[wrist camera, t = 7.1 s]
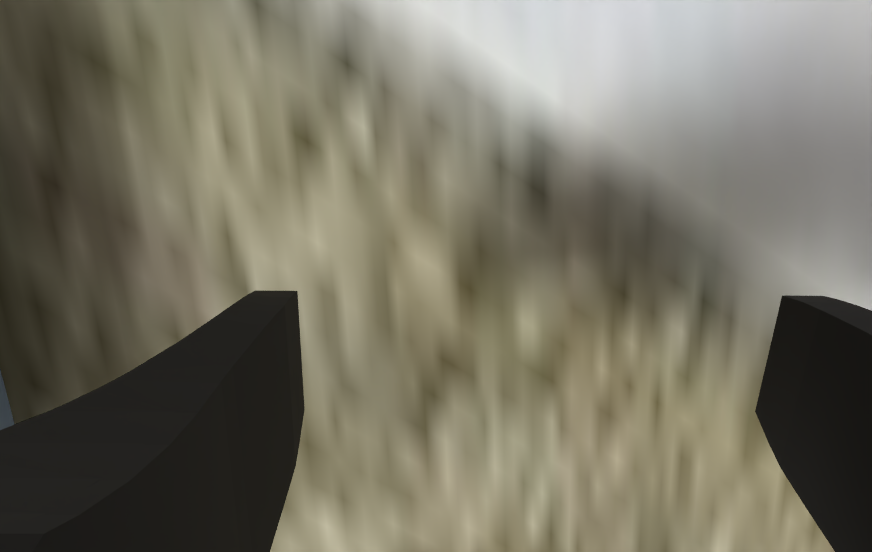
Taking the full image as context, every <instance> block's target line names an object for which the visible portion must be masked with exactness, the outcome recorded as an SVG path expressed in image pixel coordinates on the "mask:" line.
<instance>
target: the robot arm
mask: <svg viewBox="0 0 872 552" xmlns="http://www.w3.org/2000/svg"><path fill="white" fill-rule="evenodd" d="M755 412H756V414H757V417H758V419H759V421H760V424H761V426H762V428H763V431H764V433H765V435H766V438H767V440H768V442H769V444H770V447H771V449H772V451H773V453H774V455H775V457H776V459H777V461H778V463H779V465H780V467H781V469H782V470H783V472H784V474H785V475H786V477H787V479H788V480H789V482H790V483H791V485H792V486H793V488H794V490H795V491H796V493H797V494H798V496H799V497H800V499H801V500H802V502H803V504H804V505H805V507H806V508H807V510H808V511H809V513H810V514H811V516H812V517H813V519H814V520H815V522H816V523H817V525H818V526H819V528H820V530H821V531H822V533H823V534H824V536H825V537H826V539H827V540H828V542H829V543H830V545H831V546H832V548H833V549H834V551H835V552H872V311H871V310H868V309H865V308H862V307H860V306H857V305H854V304H851V303H848V302H844V301H841V300H837V299H833V298H829V297H825V296H782V299H781V303H780V307H779V312H778V316H777V320H776V325H775V329H774V333H773V337H772V342H771V346H770V350H769V355H768V359H767V363H766V367H765V372H764V376H763V380H762V385H761V389H760V393H759V398H758V402H757V406H756V410H755ZM303 415H304V395H303V378H302V362H301V345H300V328H299V312H298V295H297V291H254V292H252V293H250V294H248V295H247V296H245V297H243V298H242V299H240V300H239V301H237V302H236V303H234V304H233V305H232V306H230V307H229V308H227V309H226V310H224V311H223V312H222V313H220V314H219V315H217V316H216V317H214V318H213V319H211V320H210V321H209V322H207V323H206V324H204V325H203V326H201V327H200V328H198V329H197V330H195V331H194V332H192V333H191V334H189V335H188V336H187V337H185V338H184V339H182V340H181V341H179V342H177V343H176V344H174V345H173V346H171V347H169V348H168V349H166V350H164V351H163V352H161V353H159V354H158V355H156V356H154V357H153V358H151V359H149V360H148V361H146V362H145V363H143V364H141V365H140V366H138V367H136V368H135V369H133V370H131V371H130V372H128V373H126V374H124V375H122V376H121V377H119V378H117V379H115V380H113V381H111V382H109V383H107V384H106V385H104V386H102V387H100V388H98V389H96V390H94V391H92V392H89V393H87V394H85V395H83V396H81V397H79V398H77V399H75V400H73V401H71V402H68V403H66V404H64V405H62V406H60V407H57V408H55V409H53V410H51V411H48V412H46V413H43V414H40V415H38V416H35V417H33V418H30V419H28V420H25V421H22V422H20V423H17V424H15V425H12V426H10V427H7V428H4V429H2V430H0V552H270V549H271V546H272V543H273V539H274V536H275V533H276V530H277V526H278V523H279V520H280V516H281V513H282V510H283V507H284V503H285V500H286V496H287V493H288V490H289V486H290V483H291V480H292V476H293V473H294V469H295V466H296V460H297V454H298V448H299V442H300V435H301V428H302V422H303Z"/></svg>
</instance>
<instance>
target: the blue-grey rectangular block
mask: <svg viewBox="0 0 872 552" xmlns="http://www.w3.org/2000/svg"><path fill="white" fill-rule="evenodd" d="M12 425H15V424H14V420H13V416H12V412H11V408H10V405H9V401H8V397H7V393H6V389H5V385H4V382H3V378H2V374H1V370H0V430H2V429H4V428H7V427H10V426H12Z"/></svg>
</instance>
